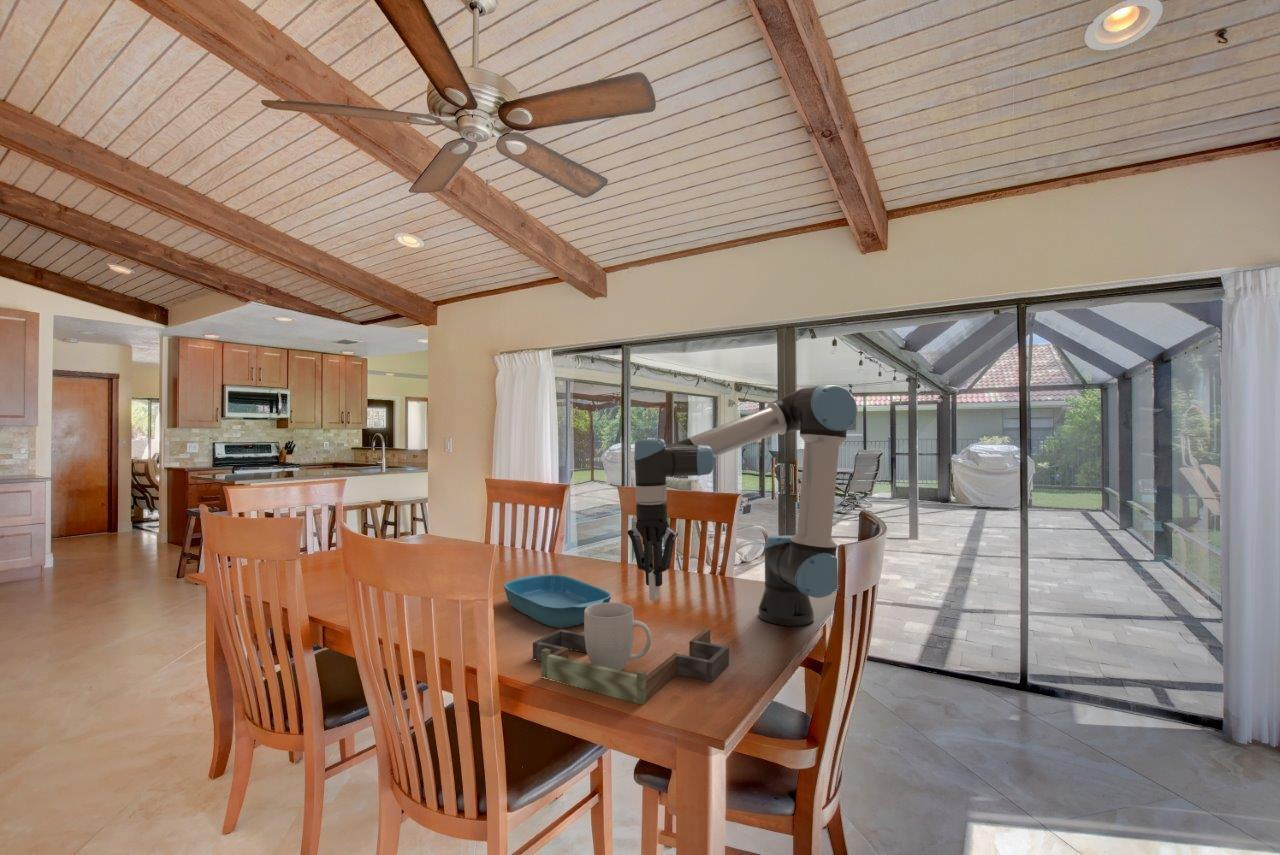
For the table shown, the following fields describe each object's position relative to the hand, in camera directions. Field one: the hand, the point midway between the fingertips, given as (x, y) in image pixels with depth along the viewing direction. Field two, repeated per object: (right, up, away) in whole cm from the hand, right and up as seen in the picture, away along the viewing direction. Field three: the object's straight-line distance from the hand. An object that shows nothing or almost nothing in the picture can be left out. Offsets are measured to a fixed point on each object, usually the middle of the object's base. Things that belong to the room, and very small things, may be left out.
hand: (654, 598), depth 142 cm
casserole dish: (-28, -12, +27) cm, 41 cm away
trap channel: (-5, -12, -8) cm, 15 cm away
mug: (-9, -12, -13) cm, 20 cm away
